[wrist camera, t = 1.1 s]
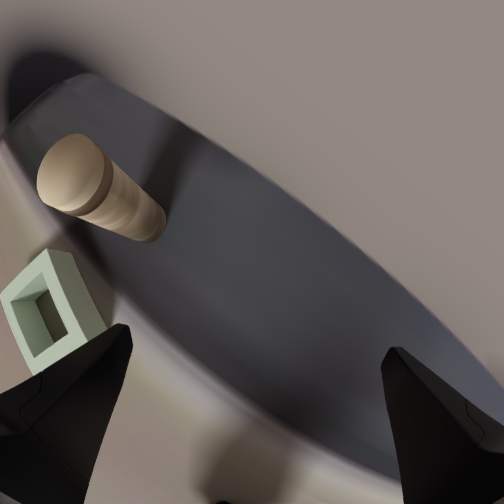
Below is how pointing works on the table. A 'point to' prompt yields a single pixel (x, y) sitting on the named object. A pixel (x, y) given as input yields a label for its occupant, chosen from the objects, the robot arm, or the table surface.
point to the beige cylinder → (97, 190)
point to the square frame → (67, 303)
